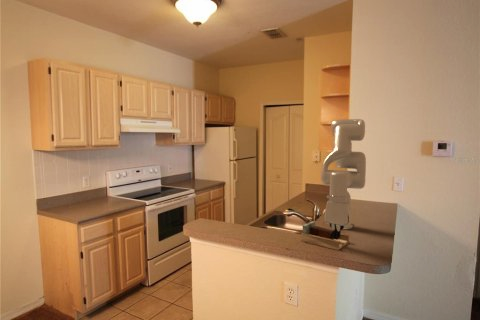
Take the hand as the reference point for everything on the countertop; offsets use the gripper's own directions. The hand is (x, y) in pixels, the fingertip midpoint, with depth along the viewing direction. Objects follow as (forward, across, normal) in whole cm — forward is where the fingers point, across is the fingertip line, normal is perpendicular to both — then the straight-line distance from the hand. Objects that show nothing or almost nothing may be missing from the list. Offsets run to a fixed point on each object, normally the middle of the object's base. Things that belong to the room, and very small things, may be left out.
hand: (336, 238), depth 134 cm
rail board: (+3, -6, 0) cm, 6 cm away
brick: (+2, -7, +1) cm, 8 cm away
